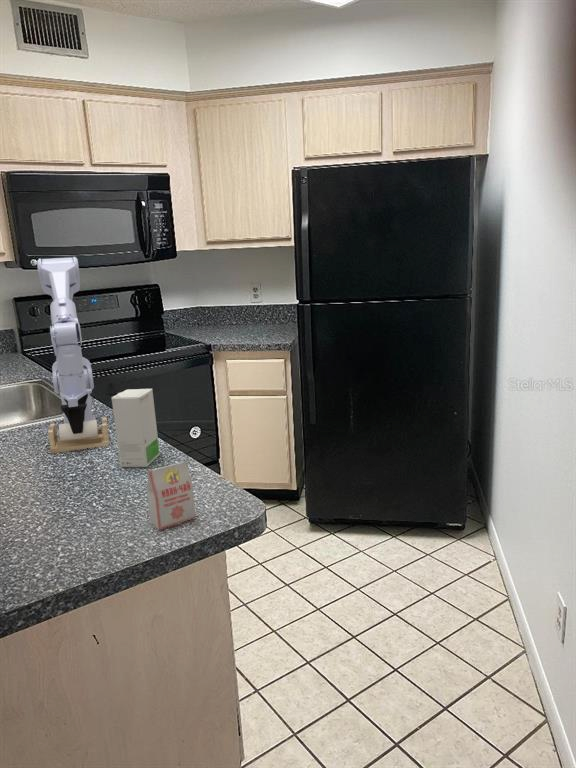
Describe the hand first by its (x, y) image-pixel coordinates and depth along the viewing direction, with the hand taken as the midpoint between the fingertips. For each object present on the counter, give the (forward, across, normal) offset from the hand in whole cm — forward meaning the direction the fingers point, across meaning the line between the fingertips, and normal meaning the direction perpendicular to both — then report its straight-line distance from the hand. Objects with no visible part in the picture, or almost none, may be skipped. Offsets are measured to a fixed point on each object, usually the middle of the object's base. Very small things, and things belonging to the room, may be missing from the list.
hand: (78, 428), depth 144 cm
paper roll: (+1, -1, 0) cm, 1 cm away
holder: (+4, 0, 0) cm, 4 cm away
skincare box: (+4, -18, -13) cm, 22 cm away
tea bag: (+4, -50, -17) cm, 53 cm away
